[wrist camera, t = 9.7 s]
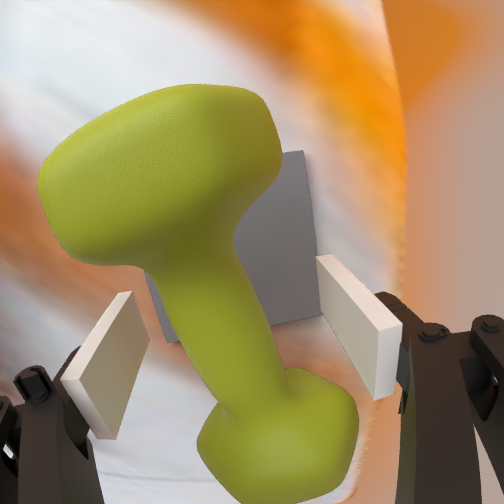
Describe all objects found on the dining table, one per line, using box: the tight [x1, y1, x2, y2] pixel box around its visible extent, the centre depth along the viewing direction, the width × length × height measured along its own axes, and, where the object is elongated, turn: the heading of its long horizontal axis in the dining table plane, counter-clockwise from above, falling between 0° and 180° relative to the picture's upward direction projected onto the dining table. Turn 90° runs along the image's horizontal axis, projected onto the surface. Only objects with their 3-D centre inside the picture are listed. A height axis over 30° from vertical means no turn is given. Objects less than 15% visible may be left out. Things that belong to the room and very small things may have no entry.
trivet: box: [144, 150, 323, 343], centre depth 22 cm, size 12×12×1 cm
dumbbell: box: [37, 84, 359, 504], centre depth 11 cm, size 16×8×7 cm, turn 19°
